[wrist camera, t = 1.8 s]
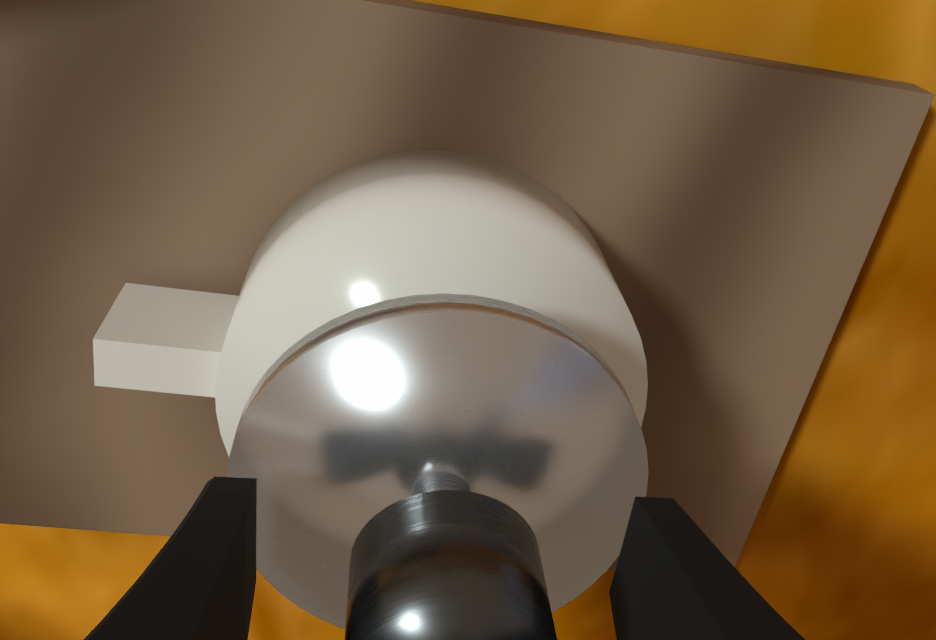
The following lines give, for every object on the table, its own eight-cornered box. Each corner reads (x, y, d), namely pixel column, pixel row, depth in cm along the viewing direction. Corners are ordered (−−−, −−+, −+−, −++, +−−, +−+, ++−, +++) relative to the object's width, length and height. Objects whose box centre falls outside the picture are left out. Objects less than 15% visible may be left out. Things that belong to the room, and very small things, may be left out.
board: (913, 84, 18) (934, 94, 17) (720, 557, 24) (729, 578, 24) (-153, -94, 15) (-179, -89, 14) (-65, 494, 21) (-81, 517, 21)
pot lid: (688, 321, 14) (798, 506, 10) (587, 628, 17) (641, 855, 13) (242, 267, 13) (179, 451, 9) (224, 603, 16) (171, 841, 12)
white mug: (656, 180, 18) (701, 241, 15) (567, 489, 22) (591, 581, 19) (129, 104, 16) (77, 158, 14) (132, 450, 20) (94, 544, 18)
